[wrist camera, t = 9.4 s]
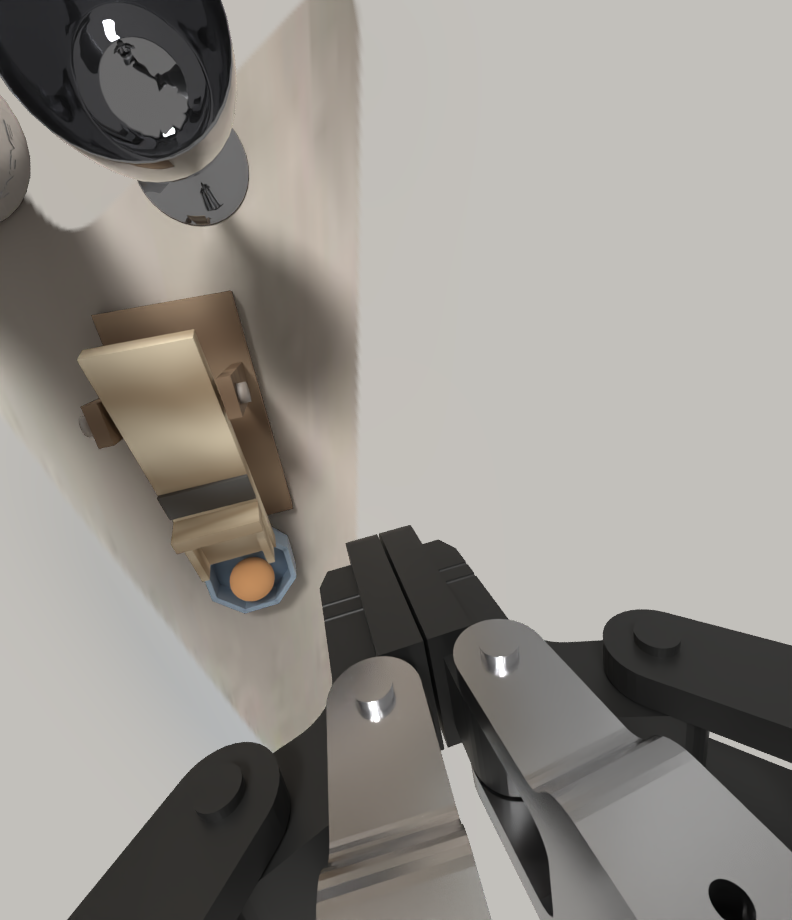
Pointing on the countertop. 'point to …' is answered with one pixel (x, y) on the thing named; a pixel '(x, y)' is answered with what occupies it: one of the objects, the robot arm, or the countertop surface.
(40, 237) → the countertop surface
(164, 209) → the wine glass
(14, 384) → the countertop surface
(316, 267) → the countertop surface
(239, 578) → the ball
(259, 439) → the stand
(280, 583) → the blue-grey shallow bowl
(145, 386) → the lever
